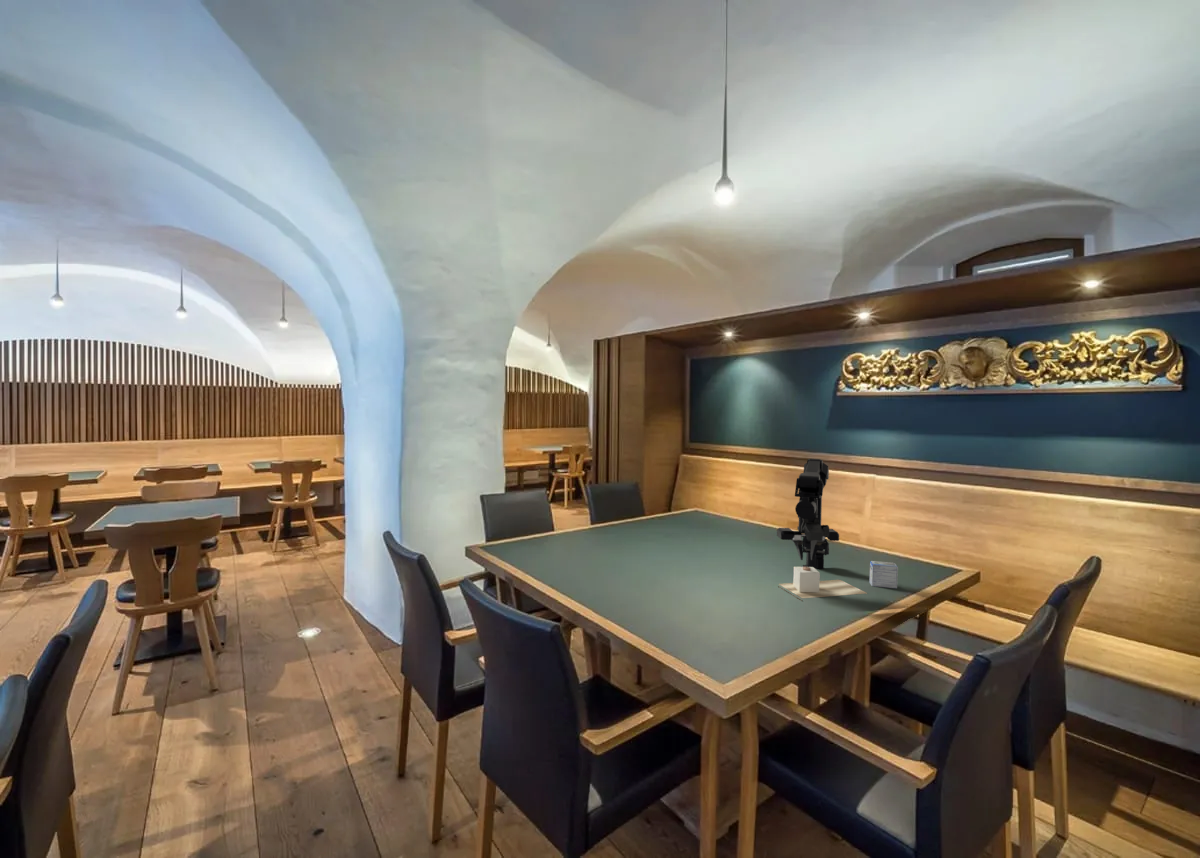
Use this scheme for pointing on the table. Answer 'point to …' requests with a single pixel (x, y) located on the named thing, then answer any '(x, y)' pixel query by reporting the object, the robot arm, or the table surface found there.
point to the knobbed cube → (806, 579)
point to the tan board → (825, 589)
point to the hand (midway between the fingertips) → (806, 559)
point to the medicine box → (883, 574)
